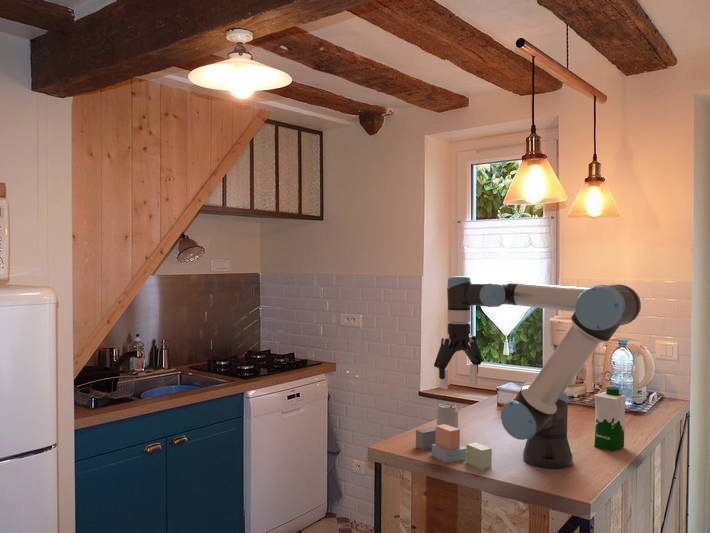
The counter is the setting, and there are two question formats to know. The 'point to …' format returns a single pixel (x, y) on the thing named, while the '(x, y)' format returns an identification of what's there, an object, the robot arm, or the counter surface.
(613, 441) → the milk carton
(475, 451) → the sage brick
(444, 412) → the can
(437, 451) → the slate blue brick
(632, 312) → the robot arm
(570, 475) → the counter surface
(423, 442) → the charcoal brick
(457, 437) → the terracotta brick
